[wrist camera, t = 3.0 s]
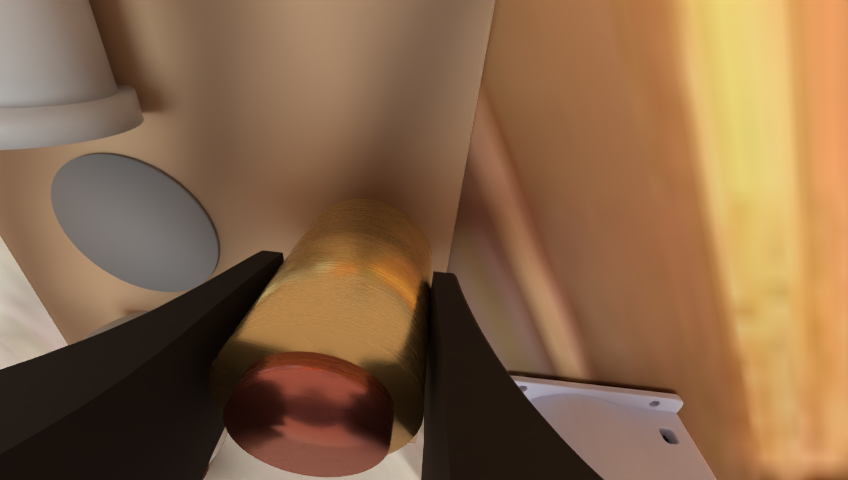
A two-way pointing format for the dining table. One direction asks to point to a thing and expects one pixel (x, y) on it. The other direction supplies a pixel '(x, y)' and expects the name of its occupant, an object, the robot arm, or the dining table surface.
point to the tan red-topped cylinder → (333, 346)
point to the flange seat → (135, 222)
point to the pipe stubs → (60, 85)
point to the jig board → (265, 129)
